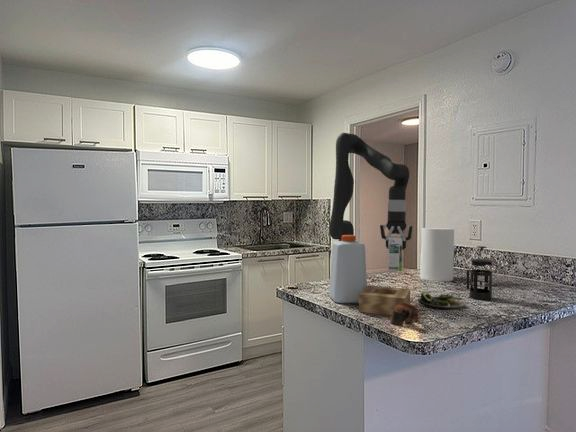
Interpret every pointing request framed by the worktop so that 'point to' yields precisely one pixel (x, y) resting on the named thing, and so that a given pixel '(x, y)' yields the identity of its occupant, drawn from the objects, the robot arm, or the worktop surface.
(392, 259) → the syrup box
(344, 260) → the plastic bottle
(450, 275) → the cylinder
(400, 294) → the slot block
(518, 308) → the worktop surface
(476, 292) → the french press
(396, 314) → the pottery mug
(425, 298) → the salad plate
